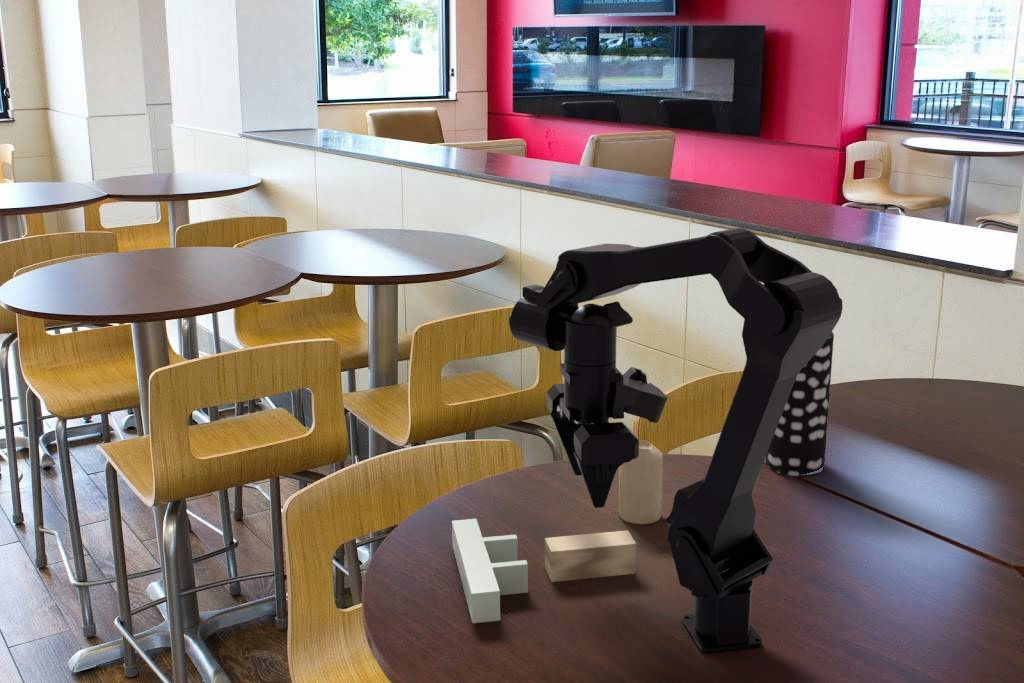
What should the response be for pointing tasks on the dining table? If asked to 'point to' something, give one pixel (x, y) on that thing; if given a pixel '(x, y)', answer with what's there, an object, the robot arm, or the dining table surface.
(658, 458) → the candle
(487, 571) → the rail
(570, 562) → the tan wooden block
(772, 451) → the spotted tube
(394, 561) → the dining table surface
